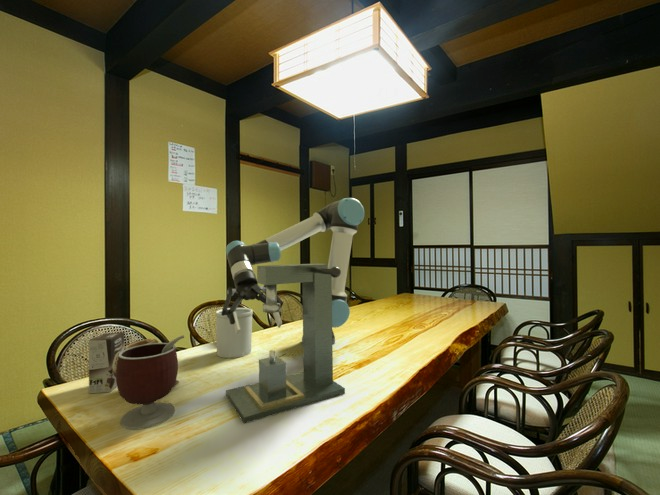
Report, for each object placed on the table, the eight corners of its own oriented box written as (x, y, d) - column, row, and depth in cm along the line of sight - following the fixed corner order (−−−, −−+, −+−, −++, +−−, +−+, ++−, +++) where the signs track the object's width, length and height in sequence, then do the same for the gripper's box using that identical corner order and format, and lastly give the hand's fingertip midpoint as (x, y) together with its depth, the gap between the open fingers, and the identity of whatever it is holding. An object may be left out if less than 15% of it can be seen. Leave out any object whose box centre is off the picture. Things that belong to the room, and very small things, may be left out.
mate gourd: (110, 437, 74) (109, 350, 74) (122, 409, 87) (121, 335, 87) (184, 421, 80) (183, 341, 80) (185, 398, 93) (184, 329, 93)
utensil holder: (251, 345, 143) (251, 306, 143) (254, 356, 129) (254, 312, 129) (216, 349, 138) (216, 308, 138) (215, 360, 124) (215, 315, 124)
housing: (276, 386, 97) (276, 346, 97) (286, 394, 91) (285, 352, 91) (259, 390, 94) (258, 349, 94) (267, 399, 88) (267, 356, 88)
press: (315, 373, 110) (313, 262, 110) (361, 404, 88) (359, 265, 88) (225, 395, 94) (224, 266, 94) (254, 439, 72) (252, 270, 72)
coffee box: (111, 392, 97) (111, 339, 97) (88, 394, 96) (87, 340, 96) (125, 380, 106) (125, 331, 106) (104, 381, 105) (103, 332, 105)
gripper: (274, 281, 122) (292, 329, 109) (205, 286, 108) (216, 342, 96) (280, 268, 117) (299, 316, 104) (208, 272, 104) (220, 327, 91)
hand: (260, 328), depth 100 cm, fingers open, 13 cm apart
